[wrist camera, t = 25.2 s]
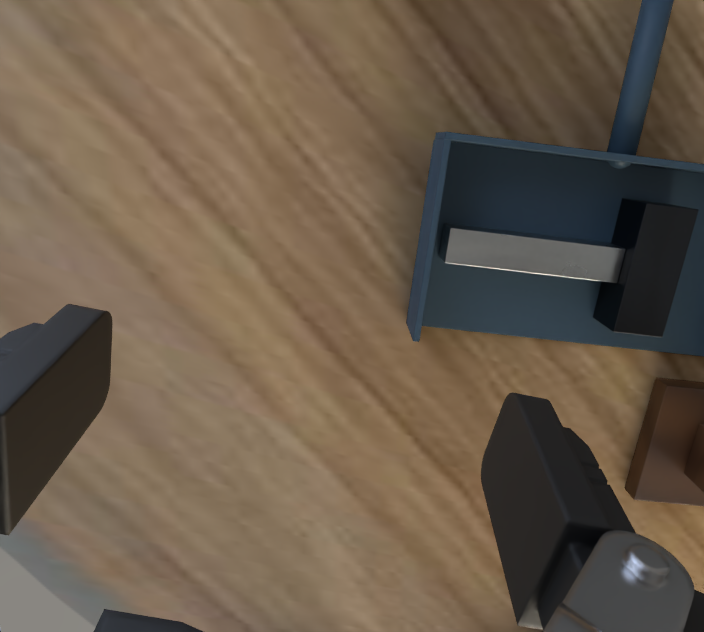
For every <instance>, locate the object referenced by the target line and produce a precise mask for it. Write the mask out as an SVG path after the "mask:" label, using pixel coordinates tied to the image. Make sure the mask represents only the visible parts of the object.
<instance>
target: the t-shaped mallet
mask: <svg viewBox="0 0 704 632" xmlns="http://www.w3.org/2000/svg"><path fill="white" fill-rule="evenodd" d="M698 211H699V210H698V209H693V208H688V207H682V206H677V205H672V204H665V203H657V202H649V201H641V200H633V199H625V198H623V199H622V201H621V205H620V209H619V213H618V217H617V221H616V225H615V229H614V233H613V237H612V241H611V243H605V242H597V241H589V240H580V239H572V238H564V237H556V236H547V235H539V234H531V233H523V232H514V231H506V230H498V229H490V228H481V227H473V226H465V225H457V224H448V223H445V224H444V228H443V234H442V240H441V246H440V252H439V257H440V258H441V259H442V260H443V262H444V263H449V264H457V265H466V266H474V267H483V268H491V269H500V270H508V271H517V272H525V273H534V274H542V275H551V276H559V277H568V278H576V279H585V280H593V281H602V282H601V286H600V290H599V294H598V298H597V302H596V306H595V310H594V314H593V318H594V319H596V320H597V321H598V322H600V323H601V324H603V325H604V326H606V327H607V328H609V329H610V330H612V331H613V332H618V333H626V334H635V335H644V336H653V337H663V334H664V330H665V327H666V323H667V320H668V316H669V313H670V309H671V306H672V302H673V299H674V295H675V292H676V288H677V285H678V281H679V278H680V274H681V271H682V267H683V264H684V260H685V257H686V253H687V250H688V246H689V243H690V239H691V236H692V232H693V228H694V225H695V221H696V218H697V214H698Z"/></svg>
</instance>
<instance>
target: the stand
mask: <svg viewBox="0 0 704 632" xmlns="http://www.w3.org/2000/svg"><path fill="white" fill-rule="evenodd" d="M625 489H626V491H627V492H628V493H629V494H630V495H631V497H632V498H633V499H634V500H642V501H653V502H663V503H674V504H684V505H695V506H704V383H703V382H693V381H684V380H675V379H665V378H656V380H655V383H654V387H653V390H652V394H651V397H650V401H649V404H648V408H647V411H646V415H645V418H644V422H643V425H642V429H641V432H640V436H639V440H638V443H637V447H636V450H635V454H634V457H633V461H632V464H631V468H630V471H629V475H628V478H627V482H626V485H625Z"/></svg>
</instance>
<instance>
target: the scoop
mask: <svg viewBox="0 0 704 632" xmlns="http://www.w3.org/2000/svg"><path fill="white" fill-rule="evenodd" d="M673 1H674V0H642V3H641V7H640V12H639V16H638V20H637V24H636V29H635V33H634V37H633V42H632V46H631V50H630V55H629V59H628V63H627V68H626V72H625V76H624V81H623V85H622V89H621V93H620V98H619V102H618V106H617V111H616V115H615V119H614V124H613V128H612V132H611V137H610V141H609V145H608V150H607V152H603V151H595V150H587V149H579V148H571V147H563V146H555V145H547V144H539V143H531V142H523V141H515V140H507V139H499V138H492V137H484V136H476V135H468V134H460V133H452V132H440V133H436V136H435V139H436V140H434V142H433V149H432V155H431V162H430V169H429V175H428V182H427V188H426V195H425V202H424V208H423V215H422V222H421V228H420V235H419V241H418V248H417V255H416V261H415V268H414V274H413V281H412V288H411V294H410V301H409V307H408V314H407V321H406V323H407V326H408V328H409V331H410V334H411V337H412V339H413V341H417V342H419V340H420V334H421V327H422V326H428V327H437V328H446V329H455V330H465V331H474V332H483V333H492V334H502V335H511V336H520V337H529V338H539V339H548V340H557V341H566V342H575V343H585V344H594V345H603V346H612V347H622V348H631V349H640V350H649V351H659V352H668V353H677V354H686V355H695V356H704V164H698V163H690V162H682V161H674V160H666V159H658V158H650V157H642V156H636V152H637V148H638V144H639V140H640V136H641V132H642V128H643V124H644V120H645V116H646V111H647V107H648V103H649V99H650V95H651V91H652V87H653V83H654V79H655V75H656V71H657V67H658V63H659V58H660V54H661V50H662V46H663V42H664V38H665V34H666V30H667V26H668V22H669V18H670V14H671V10H672V6H673ZM530 151H531V152H530ZM538 152H539V153H538ZM546 153H547V154H546ZM554 154H555V155H554ZM562 155H563V156H562ZM570 156H571V157H570ZM578 157H579V158H578ZM586 158H587V159H586ZM594 159H595V160H594ZM602 160H603V161H602ZM634 164H635V165H634ZM642 165H643V166H642ZM650 166H651V167H650ZM658 167H659V168H658ZM666 168H667V169H666ZM674 169H675V170H674ZM682 170H683V171H682ZM690 171H691V172H690ZM698 172H699V173H698ZM623 198H625V199H633V200H641V201H649V202H657V203H665V204H672V205H677V206H682V207H688V208H693V209H698V210H699V211H698V214H697V218H696V221H695V225H694V228H693V232H692V236H691V239H690V243H689V246H688V250H687V253H686V257H685V260H684V264H683V267H682V271H681V274H680V278H679V281H678V285H677V288H676V292H675V295H674V299H673V302H672V306H671V309H670V313H669V316H668V320H667V323H666V327H665V330H664V334H663V337H653V336H644V335H635V334H626V333H618V332H613V331H612V330H610V329H609V328H607V327H606V326H604V325H603V324H601V323H600V322H598V321H597V320H596V319H594V318H593V314H594V310H595V306H596V302H597V298H598V294H599V290H600V286H601V282H602V281H593V280H585V279H576V278H568V277H559V276H551V275H542V274H534V273H525V272H517V271H508V270H500V269H491V268H483V267H474V266H466V265H457V264H449V263H444V262H443V260H442V259H441V258H440V257H439V252H440V246H441V240H442V234H443V228H444V224H445V223H448V224H457V225H465V226H473V227H481V228H490V229H498V230H506V231H514V232H523V233H531V234H539V235H547V236H556V237H564V238H572V239H580V240H589V241H597V242H605V243H611V241H612V237H613V233H614V229H615V225H616V221H617V217H618V213H619V209H620V205H621V201H622V199H623Z"/></svg>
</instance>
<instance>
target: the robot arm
mask: <svg viewBox="0 0 704 632" xmlns="http://www.w3.org/2000/svg"><path fill="white" fill-rule="evenodd" d="M111 345H112V317H111V314H110V313H109V312H108V311H103V310H98V309H93V308H88V307H83V306H78V305H72V304H68V305H66V306H65V307H63V308H62V309H61V310H60V311H59V312H58V313H56V314H55V315H54V316H53V317H52V318H51V319H49V320H48V321H47V322H46V323H45V324H44V325H43V324H38V323H32V324H30V325H27V326H25V327H22V328H19V329H17V330H14V331H11V332H9V333H7V334H6V335H5V336H3V337H2V338H1V339H0V534H4V535H9V534H10V533H11V531H12V530H13V529H14V527H15V526H16V525H17V523H18V522H19V521H20V519H21V518H22V517H23V515H24V514H25V512H26V511H27V510H28V508H29V507H30V506H31V504H32V503H33V502H34V500H35V499H36V498H37V496H38V495H39V493H40V492H41V491H42V489H43V488H44V487H45V485H46V484H47V483H48V481H49V480H50V479H51V477H52V476H53V474H54V473H55V472H56V470H57V469H58V468H59V466H60V465H61V464H62V462H63V461H64V460H65V458H66V457H67V455H68V454H69V453H70V451H71V450H72V449H73V447H74V446H75V445H76V443H77V442H78V441H79V439H80V438H81V436H82V435H83V434H84V432H85V431H86V430H87V428H88V427H89V426H90V424H91V423H92V422H93V420H94V419H95V417H96V416H97V415H98V413H99V412H100V410H101V409H102V407H103V405H104V403H105V400H106V397H107V394H108V390H109V385H110V370H111ZM481 481H482V487H483V491H484V495H485V499H486V502H487V506H488V510H489V514H490V518H491V522H492V526H493V530H494V534H495V538H496V542H497V546H498V550H499V554H500V558H501V562H502V566H503V570H504V574H505V578H506V582H507V586H508V590H509V594H510V598H511V601H512V605H513V609H514V613H515V617H516V621H517V625H518V626H523V627H529V628H535V629H541V630H543V632H704V594H703V593H701V592H699V591H696V590H694V585H693V582H692V579H691V577H690V576H689V574H688V572H687V571H686V569H685V568H684V567H683V565H682V564H681V563H680V562H679V561H678V560H677V559H676V558H675V557H674V556H673V555H672V554H671V553H670V552H668V551H667V550H666V549H664V548H663V547H661V546H660V545H658V544H657V543H655V542H653V541H652V540H650V539H648V538H646V537H643V536H641V535H639V534H636V533H635V531H634V529H633V527H632V525H631V523H630V522H629V520H628V518H627V516H626V514H625V512H624V511H623V509H622V507H621V505H620V503H619V501H618V499H617V498H616V496H615V494H614V492H613V490H612V488H611V487H610V485H607V479H606V477H605V475H604V474H603V472H602V470H601V469H599V464H598V463H597V461H596V459H595V457H594V455H593V453H592V451H591V450H590V448H589V446H588V445H587V444H586V443H585V442H584V441H583V440H582V439H581V438H579V437H578V436H577V435H576V434H575V433H574V432H573V431H572V430H571V429H570V428H565V427H563V426H562V424H561V422H560V420H559V418H558V416H557V414H556V412H555V410H554V408H553V406H552V404H551V403H550V401H549V400H547V399H542V398H537V397H532V396H527V395H522V394H517V393H510V394H509V395H508V396H507V397H506V399H505V401H504V403H503V405H502V408H501V411H500V413H499V416H498V419H497V421H496V424H495V426H494V429H493V432H492V434H491V437H490V440H489V442H488V445H487V448H486V450H485V453H484V456H483V461H482V468H481ZM0 632H1V630H0ZM94 632H203V631H201V630H198V629H196V628H194V627H192V626H189V625H187V624H185V623H183V622H178V621H172V620H166V619H160V618H154V617H148V616H142V615H136V614H130V613H124V612H119V611H113V610H107V609H104V611H103V613H102V615H101V617H100V620H99V622H98V624H97V626H96V628H95V630H94Z"/></svg>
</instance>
